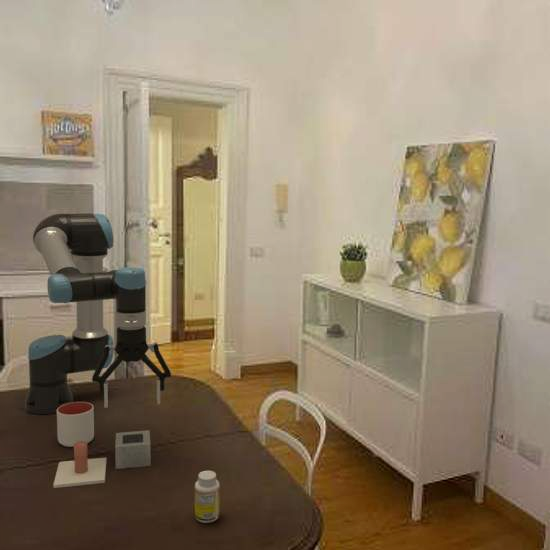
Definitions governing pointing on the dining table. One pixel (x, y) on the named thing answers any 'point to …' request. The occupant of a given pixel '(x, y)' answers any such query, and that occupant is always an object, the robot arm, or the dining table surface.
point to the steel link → (133, 449)
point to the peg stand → (80, 469)
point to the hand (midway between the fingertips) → (132, 404)
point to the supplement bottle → (207, 497)
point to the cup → (75, 423)
